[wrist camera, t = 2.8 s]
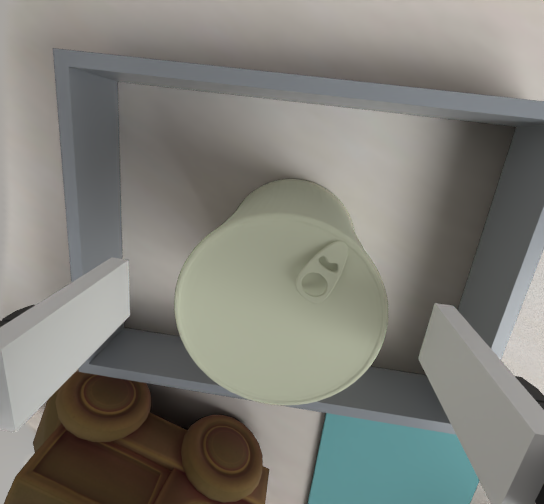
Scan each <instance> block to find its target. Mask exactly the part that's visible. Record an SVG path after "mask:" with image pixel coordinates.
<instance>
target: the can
mask: <svg viewBox="0 0 544 504" xmlns="http://www.w3.org/2000/svg"><path fill="white" fill-rule="evenodd" d="M174 312H175V320H176V325H177V329H178V332H179V335H180V338H181V340H182V342H183V344H184V346H185V348H186V350H187V351H188V353H189V355H190V356H191V358H192V359H193V360H194V362H195V363H196V364H197V366H198V367H199V368H200V369H201V370H202V371H203V372H204V373H205V374H206V375H207V376H208V377H209V378H211V379H212V380H213V381H214V382H216V383H217V384H219V385H220V386H222V387H223V388H225V389H227V390H228V391H230V392H232V393H234V394H236V395H239V396H241V397H243V398H246V399H249V400H252V401H256V402H260V403H265V404H271V405H300V404H307V403H312V402H316V401H319V400H322V399H325V398H328V397H331V396H333V395H335V394H337V393H339V392H341V391H342V390H344V389H346V388H347V387H349V386H350V385H351V384H353V383H354V382H355V381H356V380H358V379H359V378H360V377H361V376H362V375H363V374H364V373H365V372H366V371H367V370H368V368H369V367H370V366H371V365H372V363H373V361H374V360H375V358H376V357H377V355H378V353H379V351H380V349H381V347H382V344H383V341H384V339H385V335H386V330H387V325H388V301H387V295H386V291H385V287H384V284H383V281H382V279H381V276H380V274H379V272H378V270H377V268H376V266H375V265H374V263H373V262H372V260H371V259H370V257H369V256H368V255H367V253H366V252H365V251H364V249H363V247H362V245H361V243H360V241H359V239H358V238H357V236H356V234H355V232H354V227H353V223H352V220H351V218H350V216H349V213H348V212H347V210H346V208H345V207H344V205H343V204H342V203H341V202H340V200H339V199H338V198H337V197H336V196H335V195H333V194H332V193H331V192H330V191H328V190H327V189H325V188H323V187H321V186H319V185H317V184H315V183H312V182H309V181H305V180H299V179H284V180H277V181H273V182H270V183H268V184H265V185H263V186H261V187H259V188H257V189H256V190H254V191H253V192H252V193H251V194H249V195H248V196H247V197H246V198H245V199H244V200H243V201H242V203H241V204H240V205H239V207H238V209H237V210H236V212H235V213H234V214H233V215H232V216H231V217H230V218H229V219H228V220H227V221H226V222H224V223H223V224H222V225H221V226H220V227H219V228H217V229H215V230H214V231H213V232H211V233H210V234H208V235H207V236H206V237H205V238H204V239H203V240H202V241H201V242H200V243H199V244H198V245H197V246H196V247H195V248H194V250H193V251H192V252H191V253H190V255H189V256H188V258H187V260H186V261H185V263H184V265H183V267H182V269H181V271H180V274H179V277H178V281H177V285H176V289H175V298H174Z"/></svg>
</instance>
